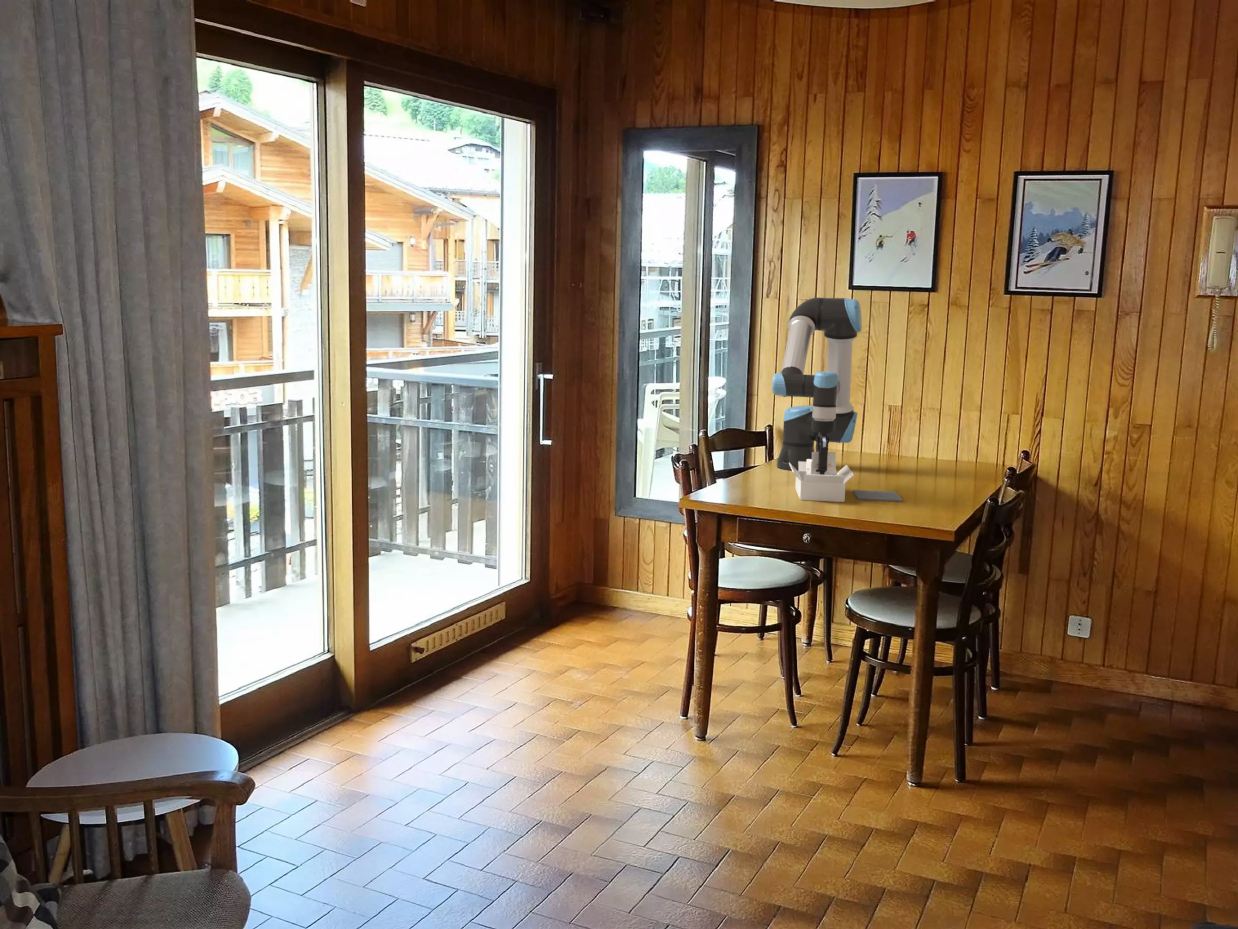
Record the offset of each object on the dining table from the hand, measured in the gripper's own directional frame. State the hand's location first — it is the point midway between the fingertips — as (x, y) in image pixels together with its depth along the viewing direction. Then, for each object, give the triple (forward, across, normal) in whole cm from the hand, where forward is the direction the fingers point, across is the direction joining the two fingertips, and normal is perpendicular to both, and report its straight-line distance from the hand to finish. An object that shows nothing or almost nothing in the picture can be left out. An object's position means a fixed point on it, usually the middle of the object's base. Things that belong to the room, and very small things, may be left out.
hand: (819, 489), depth 367 cm
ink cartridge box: (+2, 0, 0) cm, 2 cm away
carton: (+2, 0, 0) cm, 2 cm away
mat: (+2, -2, +19) cm, 19 cm away
